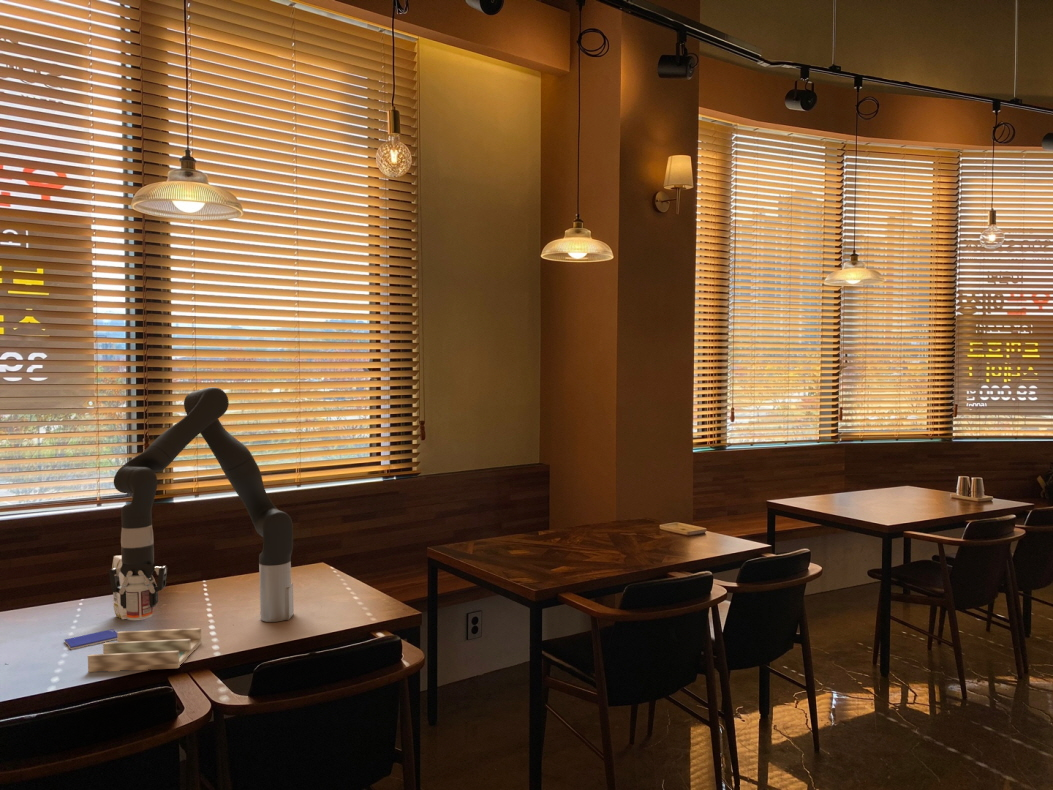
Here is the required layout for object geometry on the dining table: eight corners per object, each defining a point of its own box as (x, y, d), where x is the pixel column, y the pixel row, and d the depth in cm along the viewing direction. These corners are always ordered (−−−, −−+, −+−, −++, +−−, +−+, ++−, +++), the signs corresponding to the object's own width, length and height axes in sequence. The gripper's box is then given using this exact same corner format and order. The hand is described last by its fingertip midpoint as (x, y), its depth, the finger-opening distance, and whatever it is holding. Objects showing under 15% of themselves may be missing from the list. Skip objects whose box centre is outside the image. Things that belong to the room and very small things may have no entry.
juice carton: (111, 616, 240) (109, 556, 239) (140, 609, 246) (138, 550, 246) (121, 621, 235) (119, 559, 234) (150, 614, 241) (148, 554, 241)
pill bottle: (152, 612, 205) (151, 569, 205) (153, 618, 200) (151, 575, 199) (126, 615, 202) (125, 572, 202) (126, 622, 197) (124, 578, 196)
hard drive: (112, 628, 226) (64, 638, 218) (120, 635, 220) (70, 646, 212) (112, 633, 226) (64, 644, 218) (120, 640, 220) (70, 652, 212)
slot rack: (201, 643, 216) (201, 628, 216) (178, 668, 198) (177, 652, 197) (119, 646, 214) (118, 631, 213) (88, 672, 196) (87, 656, 195)
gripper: (171, 539, 205) (173, 601, 205) (114, 541, 203) (116, 603, 204) (160, 545, 197) (162, 610, 198) (101, 547, 196) (104, 612, 197)
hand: (139, 606), depth 201 cm, fingers closed on pill bottle, 6 cm apart
